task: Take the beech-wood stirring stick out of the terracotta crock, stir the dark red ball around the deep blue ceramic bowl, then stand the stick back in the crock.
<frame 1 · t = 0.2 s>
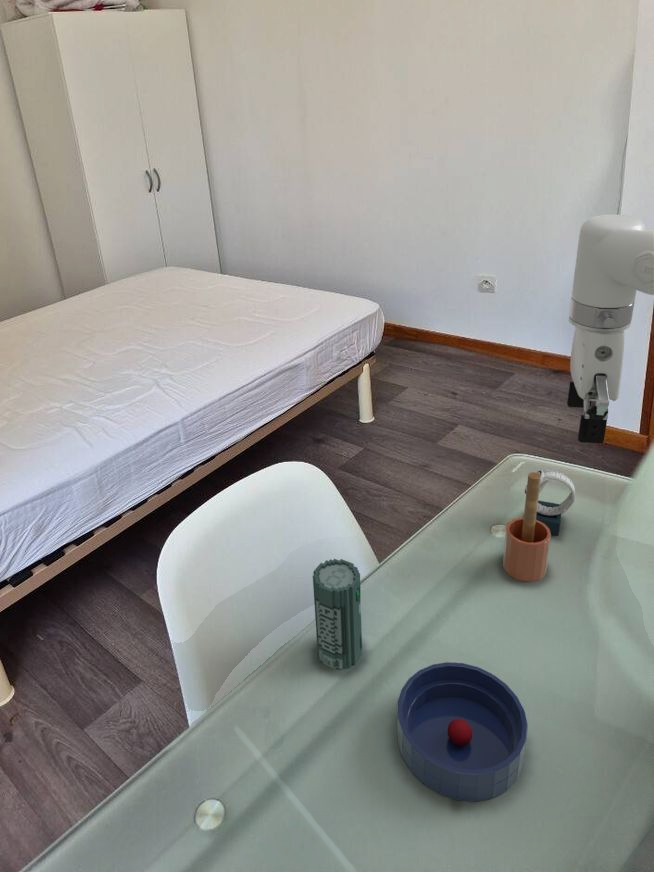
hand: (584, 423, 98), 28 cm above the table, tool pointing down, fingers open, 9 cm apart
stick: (524, 567, 112), resting on crock
bowl: (459, 743, 86), on the table
ball: (459, 740, 86), point 1 cm above the table, touching bowl
crock: (524, 569, 112), on the table
can: (339, 655, 99), on the table
watch: (545, 526, 121), on the table
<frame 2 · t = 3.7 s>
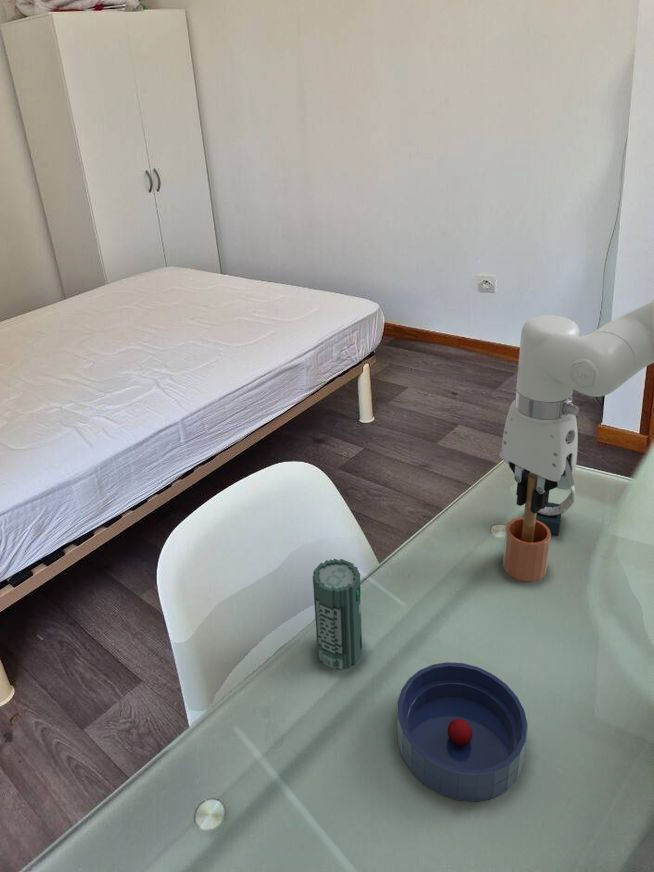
hand: (531, 504, 106), 13 cm above the table, tool pointing down, fingers closed on stick, 1 cm apart
stick: (524, 567, 112), point 1 cm above the table, touching crock, gripper
everything else where it was.
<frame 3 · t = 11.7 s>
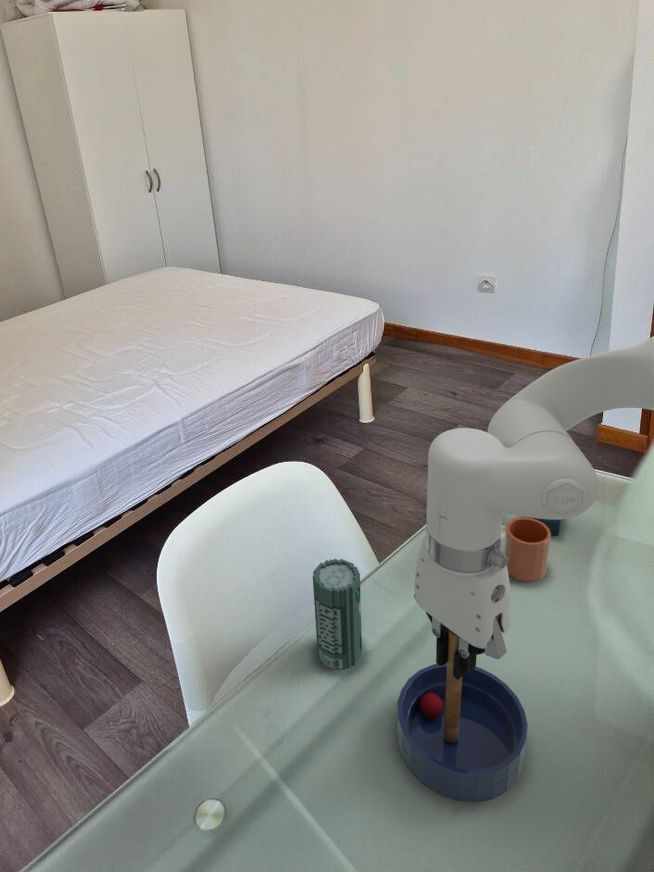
hand: (455, 664, 80), 14 cm above the table, tool pointing down, fingers closed on stick, 1 cm apart
stick: (451, 735, 86), point 1 cm above the table, touching gripper
ball: (431, 697, 88), point 4 cm above the table, tilted 177°, touching bowl
everything else where it was.
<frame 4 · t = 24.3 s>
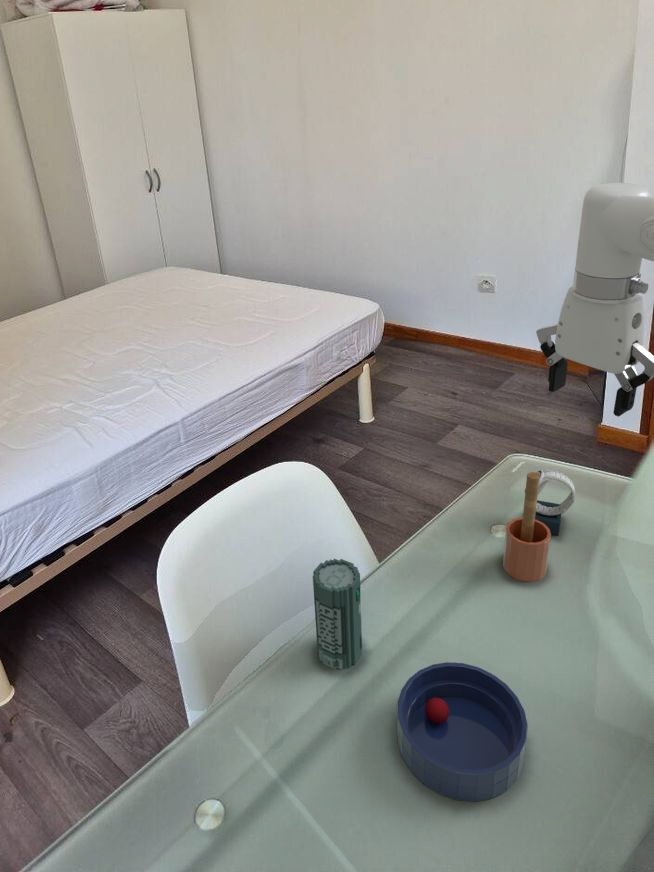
hand: (587, 400, 96), 32 cm above the table, tool pointing down, fingers open, 9 cm apart
stick: (523, 566, 112), resting on crock
ball: (442, 708, 87), point 3 cm above the table, tilted 146°, touching bowl
everything else where it was.
at the end: ball moved 4.0 cm from its start; ball inside the target area in the bowl (2.9 cm from its centre), point 3.3 cm above the bowl's base; stick 0.1 cm off-centre in the crock, point 0.5 cm above the crock's base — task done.
